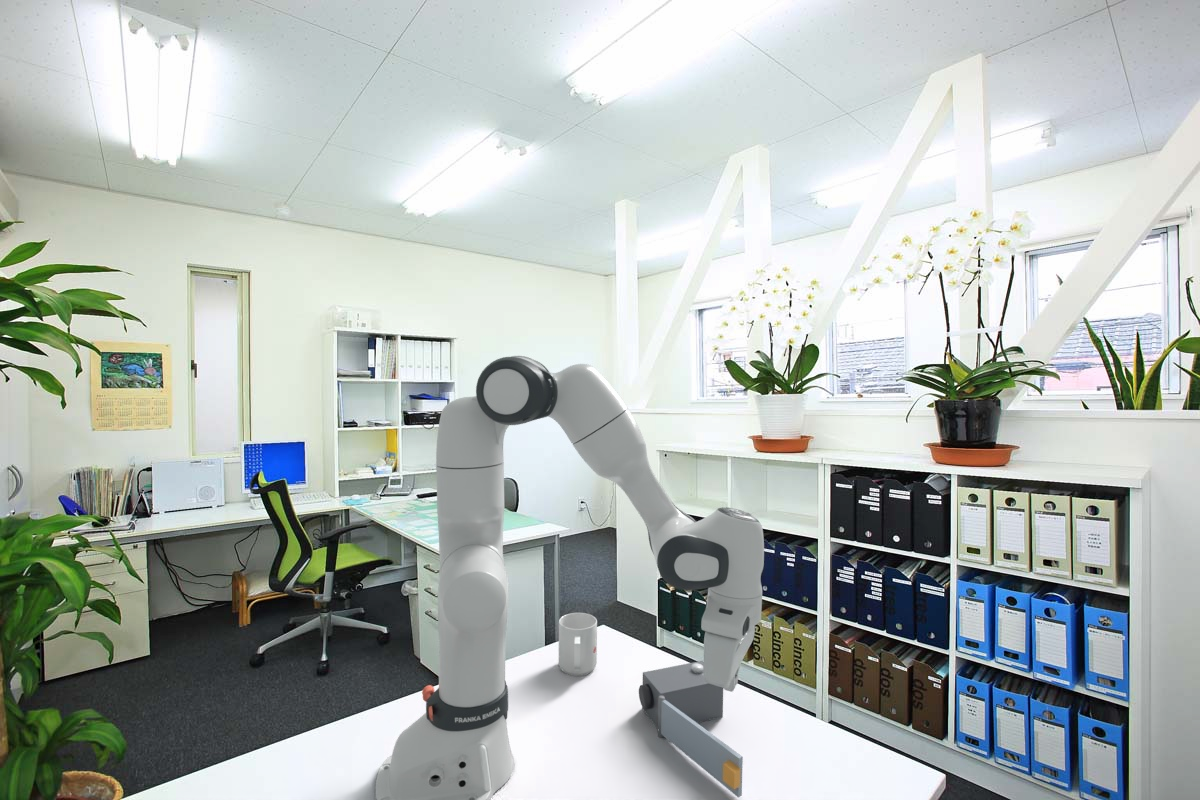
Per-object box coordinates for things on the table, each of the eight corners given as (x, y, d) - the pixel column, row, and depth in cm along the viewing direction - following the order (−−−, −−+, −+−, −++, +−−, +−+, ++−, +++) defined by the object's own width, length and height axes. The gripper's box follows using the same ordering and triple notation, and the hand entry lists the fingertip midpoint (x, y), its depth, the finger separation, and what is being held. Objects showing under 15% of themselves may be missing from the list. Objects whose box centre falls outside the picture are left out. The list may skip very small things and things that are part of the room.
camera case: (654, 733, 104) (655, 690, 104) (636, 709, 111) (637, 669, 111) (722, 716, 109) (723, 676, 109) (701, 695, 117) (702, 657, 116)
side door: (651, 737, 103) (652, 698, 102) (661, 732, 104) (661, 694, 104) (733, 806, 86) (734, 761, 86) (743, 800, 88) (745, 755, 87)
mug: (559, 657, 132) (559, 612, 131) (596, 657, 132) (596, 612, 131) (556, 685, 120) (557, 635, 119) (597, 685, 120) (597, 636, 119)
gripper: (730, 583, 102) (727, 655, 103) (698, 623, 84) (694, 711, 85) (765, 590, 99) (761, 664, 100) (739, 633, 81) (734, 724, 82)
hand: (730, 686), depth 92 cm, fingers closed
